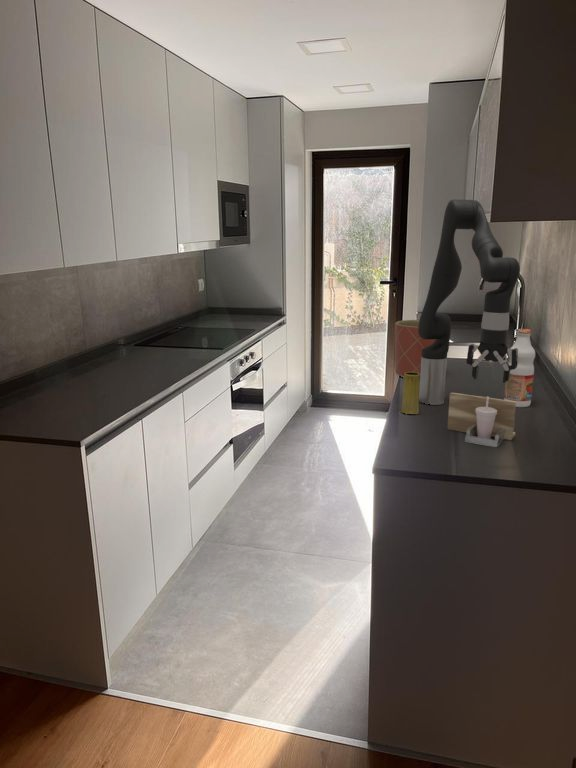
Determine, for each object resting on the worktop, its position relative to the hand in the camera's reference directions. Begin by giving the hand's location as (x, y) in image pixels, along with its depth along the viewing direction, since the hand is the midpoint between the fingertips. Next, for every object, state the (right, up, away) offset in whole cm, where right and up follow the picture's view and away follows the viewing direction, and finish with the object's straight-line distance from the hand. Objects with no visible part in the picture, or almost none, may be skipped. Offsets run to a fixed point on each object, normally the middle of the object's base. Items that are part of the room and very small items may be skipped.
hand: (490, 380), depth 177 cm
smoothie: (0, -18, +5) cm, 19 cm away
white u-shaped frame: (0, -18, +4) cm, 19 cm away
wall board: (+1, -16, +12) cm, 20 cm away
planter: (-2, +3, +88) cm, 88 cm away
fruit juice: (+25, -9, +43) cm, 50 cm away
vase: (-17, -11, +33) cm, 39 cm away
